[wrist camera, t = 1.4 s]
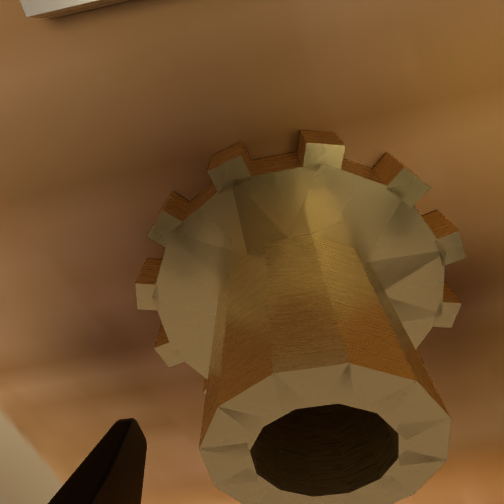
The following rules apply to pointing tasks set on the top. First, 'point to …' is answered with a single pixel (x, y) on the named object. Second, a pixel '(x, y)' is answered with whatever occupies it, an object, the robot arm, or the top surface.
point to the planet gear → (307, 322)
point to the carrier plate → (62, 7)
